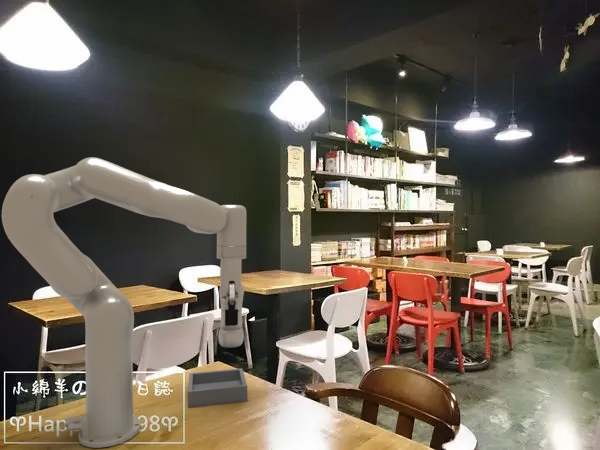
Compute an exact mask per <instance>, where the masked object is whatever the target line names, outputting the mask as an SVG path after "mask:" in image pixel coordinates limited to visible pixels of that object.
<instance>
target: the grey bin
mask: <svg viewBox="0 0 600 450" xmlns="http://www.w3.org/2000/svg"><path fill="white" fill-rule="evenodd" d="M243 402H248V383H247V380H246V376H245V372H244V369H243V368H231V369H219V370H208V371H199V372H197V371H196V372H189V373H188V386H187V408H197V407H198V408H199V407H205V406H206V407H207V406H215V405H223V404H224V405H225V404H235V403H243Z"/></svg>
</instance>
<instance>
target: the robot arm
mask: <svg viewBox="0 0 600 450" xmlns="http://www.w3.org/2000/svg"><path fill="white" fill-rule="evenodd" d="M93 199H97V200H100V201H102V202H105V203H108V204H111V205H114V206H117V207H118V208H119V207H120V208H122V209H125V210H128V211H131V212H133V213H136V214H140V215H144V216H146V217H151V218H159V219H163V220H167V221H172V222H175V223H177V224H181V225H185V226H186V228H188V229H189V230H190V231H191V232H194V233H197V234H206V235H213V234H216V259H218V260H220V267H219V268H220V269H219V289H220V294H219V298H220V297H221V298H223V297H225V296H226V310H225V325H226V326H235V325H238V309H237V298H238V297H240V288H241V284H242V260H243V259H244V260H245V259H247V209H246V207H245V206H243V205H240V204H223V205H220V204H218V203H217V202H215V201H213V200H210V199H208V198H205V197H203V196H201V195H198V194H195V193H193V192H190V191H187V190H185V189H182V188H179V187H176V186H172V185H169V184H167V183H164V182H161V181H158V180H155V179H153V178H149V177H147V176H146V175H143V174H140V173H137V172H134V171H133V170H130V169H127V168H125V167H122V166H121V165H118V164H115V163H113V162H110V161H108V160H106V159H105V160H104V159H102V158H100V157H92V156H91V157H85V158H83V159H81V160H80V161H78V162H77V163H76V165H73V166H70V167H66V168H63V169H61V170H58V171H55V172H50V173H48V174H37V173H36V174H35V173H32V174H26V175H23V176H21V177H20V178H18V179H16V181H14V182H13V184H12V185H11V186H10V187H9V189H8V191H7V193H6V195H5V197H4V200H3V203H2V207H1V208H2V209H1V222H2V226H3V229H4V232H5V234H6V236H7V239H8V240H9V241H10V243H11V244H12V245H13V246H14V247H15V249H16V250H17V251H18V252H19V253H20V254H21V256H23V257H24V259H26V261H27V262H28V263H29V264H30V266H32V268H33V269H35V271H36V272H37V273H38V274H39V275H40V276H41V277H42V278H43V279H44V280H45V281H46V283H48V284H49V286H50V287H51V289H52V290H53V292H55V293H56V294H57V295H59V296H61V297H63V298H65V299H66V300H67V301H68V303H70V304H71V305H72V306H73V307H74V308H75V310H76V311H78V312H79V314H81V315H82V317H83V318H84V326H85V327H84V328H85V339H84V341H85V345H84V347H85V349H84V355H85V357H84V359H85V360H84V361H85V362H84V364H85V365H84V366H85V414H82V415H81V416H72V417H66V418H65V421H64V427H65V428H67V431H68V432H70V431H71V432H72V431H76V430H79V432H78V442H79V444H81V445H82V446H83V447H87V448H92V449H93V448H95V449H97V448H98V449H100V448H101V449H103V448H109V447H112V446H116V445H120V444H122V443H125V442H126V441H129V440H130V439H132V438H134V437H135V436H136V435H137V434H138V433H139V432H140V430H141V428H142V427H141V424H142V423H141V420H140V419H139V418H138V417H137V416H135V415H134V374H133V372H134V371H133V370H134V369H133V368H134V367H133V365H134V364H133V341H134V340H133V338H134V325H135V313H134V308H133V305H132V303H131V302H130V300H129V299H128V297H127V296H125V294H123V293H122V292H121V290H119V289H118V288H117V287H116V286H115V285H114V284H113V282H112V281H111V280H110V279H109V278H108V277H107V276H106V275H105V273H104V272H102V270H101V269H100V268H99V267H98V266H97V265H96V263H95V262H94V261H93V260H92V259H91V258H90V257H88V255H86V254H84V253H83V252H81V251H82V250H81V251H80V249H79V248H78V247H77V245H75V244H74V242H72V240H70V239H69V237H68V236H67V235H66V233H64V231H63V230H62V229H61V228H60V226H59V225H58V224H57V222H56V220H55V218H54V213H56V212H59V211H61V210H65V209H68V208H71V207H74V206H77V205H78V204H82V203H85V202H87V201H90V200H93ZM234 281H235V284H234ZM235 291H236V292H238V295H237V293H236V297H235ZM228 294H230V297H228ZM237 296H238V297H237ZM228 300H230V301H228Z"/></svg>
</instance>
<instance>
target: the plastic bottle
mask: <svg viewBox="0 0 600 450" xmlns="http://www.w3.org/2000/svg"><path fill="white" fill-rule="evenodd" d="M234 284H235V281H234ZM218 293H219V295H220V288H219V290H218ZM236 293H237V295H238V292H236V291H235V297H236ZM244 295H245V288H244V285H243V284H242V283H241V288H240V297H238V296H237V297H238V298H237V309H238V325H235V326H226V325H225V310H226V296H225V297H223V298H221V297H220V296H219V301H220V310H221V311H220V315H221V316H220V324H219V330H218V336H217V337H218V343H219V344H220V346H221V347H223V348H237V347H240V346H241V345H242V344H243V342H244V337H245V335H244V329H243V319H242V318H243V316H242V314H243V312H242V311H243V301H244ZM228 297H230V294H228ZM228 301H230V300H228Z"/></svg>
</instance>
